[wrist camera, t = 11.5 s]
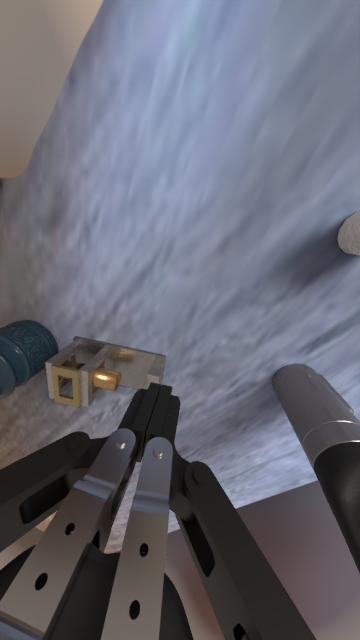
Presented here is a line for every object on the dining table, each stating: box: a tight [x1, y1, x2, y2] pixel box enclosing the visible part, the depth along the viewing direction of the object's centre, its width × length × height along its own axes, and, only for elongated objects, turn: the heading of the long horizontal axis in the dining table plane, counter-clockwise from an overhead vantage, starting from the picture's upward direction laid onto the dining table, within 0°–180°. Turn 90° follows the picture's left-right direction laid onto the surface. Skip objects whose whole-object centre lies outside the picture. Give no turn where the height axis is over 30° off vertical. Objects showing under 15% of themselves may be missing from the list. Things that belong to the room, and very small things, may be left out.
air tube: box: [60, 360, 121, 391], centre depth 41 cm, size 13×4×4 cm, turn 80°
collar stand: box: [45, 336, 166, 407], centre depth 41 cm, size 22×11×10 cm, turn 80°
